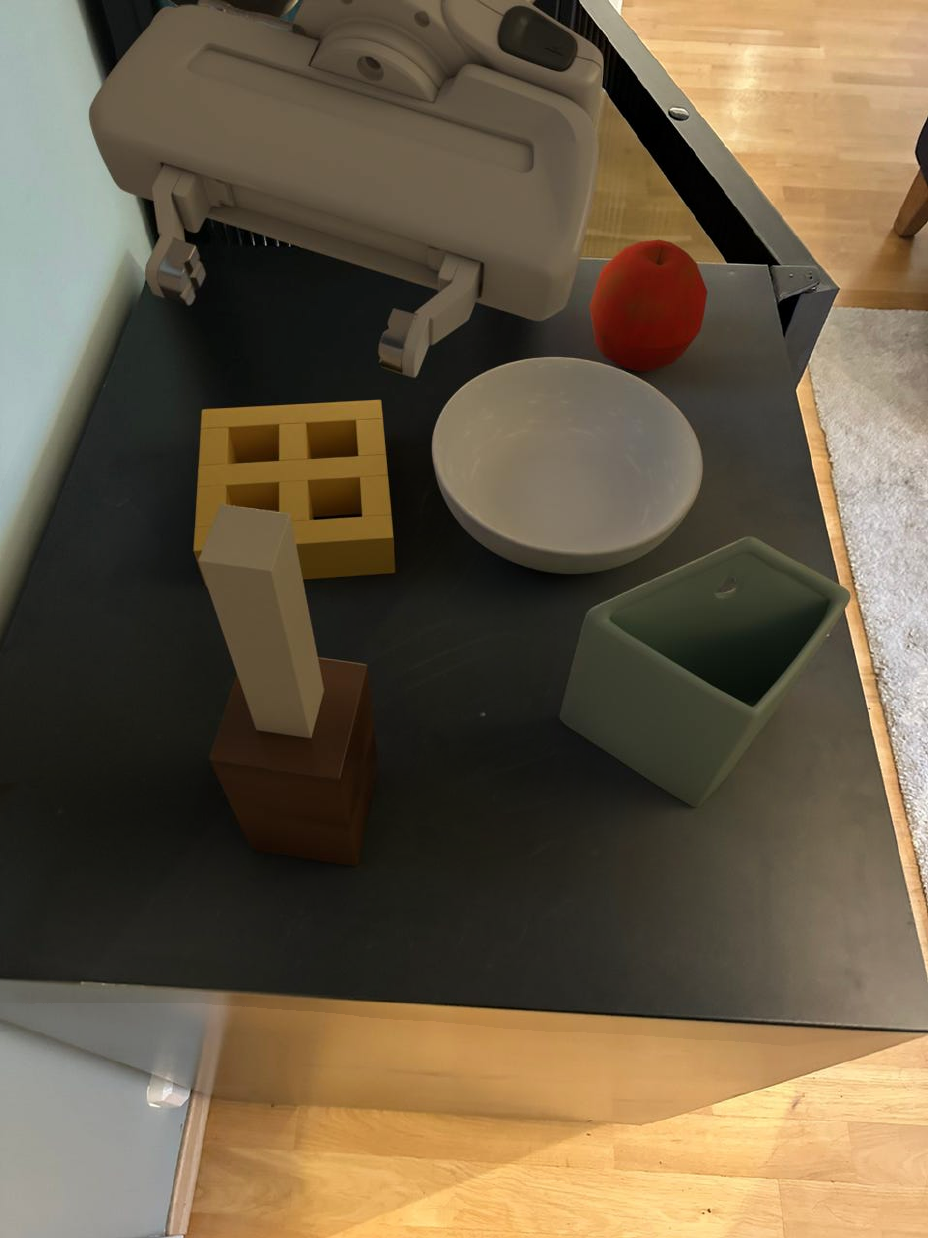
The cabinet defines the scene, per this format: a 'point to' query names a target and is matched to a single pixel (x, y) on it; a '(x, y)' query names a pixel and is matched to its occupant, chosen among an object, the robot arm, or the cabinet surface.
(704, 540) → the cabinet surface
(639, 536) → the serving bowl
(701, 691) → the planter
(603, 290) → the apple
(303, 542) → the peg block
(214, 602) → the peg
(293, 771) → the block
